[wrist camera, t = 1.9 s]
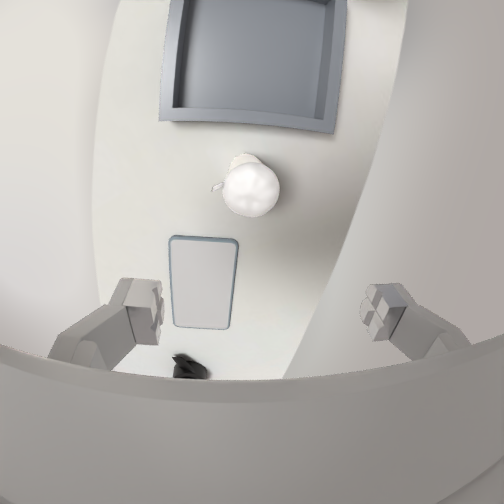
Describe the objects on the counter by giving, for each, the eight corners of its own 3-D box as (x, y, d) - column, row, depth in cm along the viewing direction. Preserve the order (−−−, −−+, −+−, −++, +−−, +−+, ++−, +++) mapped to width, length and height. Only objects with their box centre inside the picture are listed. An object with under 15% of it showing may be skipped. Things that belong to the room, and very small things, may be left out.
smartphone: (173, 327, 39) (167, 237, 31) (173, 322, 40) (169, 233, 32) (229, 330, 40) (239, 241, 32) (229, 326, 41) (238, 237, 33)
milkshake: (222, 140, 27) (219, 158, 18) (271, 153, 28) (292, 177, 19) (211, 180, 29) (205, 217, 20) (259, 192, 30) (273, 232, 22)
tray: (182, -15, 17) (176, -30, 14) (333, 1, 19) (347, -10, 16) (167, 118, 25) (158, 121, 22) (320, 129, 27) (333, 134, 24)
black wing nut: (218, 358, 44) (218, 371, 42) (204, 386, 49) (204, 399, 46) (173, 348, 42) (171, 362, 40) (165, 378, 47) (163, 391, 44)
